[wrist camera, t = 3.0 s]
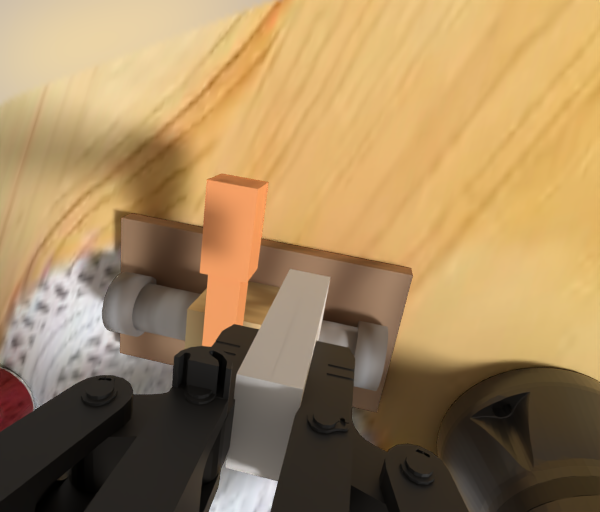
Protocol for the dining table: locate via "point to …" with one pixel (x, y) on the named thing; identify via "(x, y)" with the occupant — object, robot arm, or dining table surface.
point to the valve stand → (250, 298)
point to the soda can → (13, 398)
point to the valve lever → (230, 248)
